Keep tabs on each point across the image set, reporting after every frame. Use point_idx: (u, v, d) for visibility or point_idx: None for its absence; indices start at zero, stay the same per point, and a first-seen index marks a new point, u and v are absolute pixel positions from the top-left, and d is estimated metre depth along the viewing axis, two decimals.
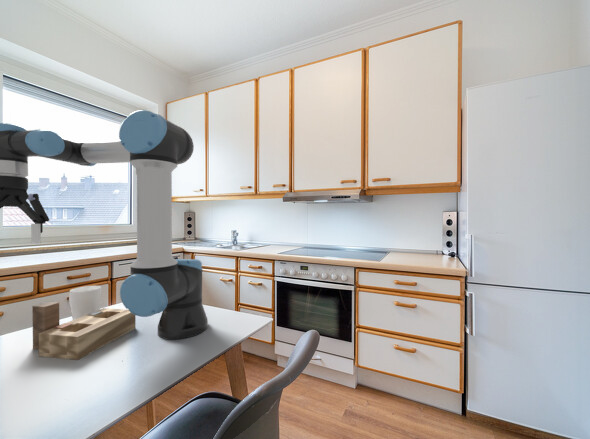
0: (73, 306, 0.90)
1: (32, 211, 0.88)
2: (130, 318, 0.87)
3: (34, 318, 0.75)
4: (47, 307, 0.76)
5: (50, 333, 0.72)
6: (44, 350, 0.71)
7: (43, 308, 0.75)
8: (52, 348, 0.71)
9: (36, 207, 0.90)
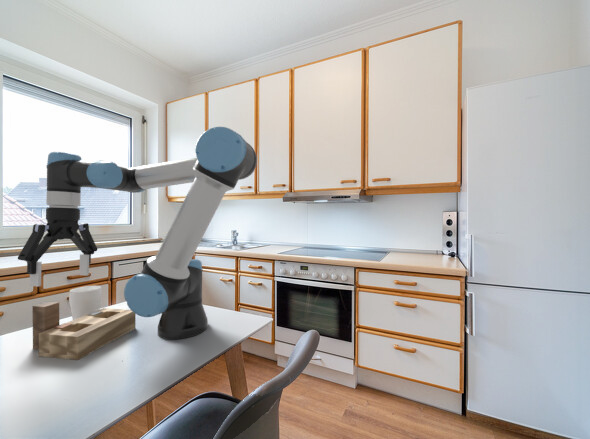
0: (73, 306, 0.90)
1: (82, 242, 0.83)
2: (130, 318, 0.87)
3: (34, 318, 0.75)
4: (47, 307, 0.76)
5: (50, 333, 0.72)
6: (44, 350, 0.71)
7: (43, 308, 0.75)
8: (52, 348, 0.71)
9: (85, 237, 0.85)
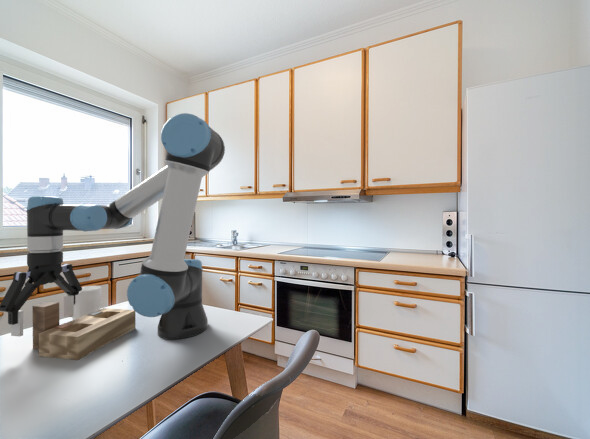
0: None
1: (66, 284, 0.82)
2: (130, 318, 0.87)
3: (34, 318, 0.75)
4: (47, 307, 0.76)
5: (50, 333, 0.72)
6: (44, 350, 0.71)
7: (43, 308, 0.75)
8: (52, 348, 0.71)
9: (69, 278, 0.84)
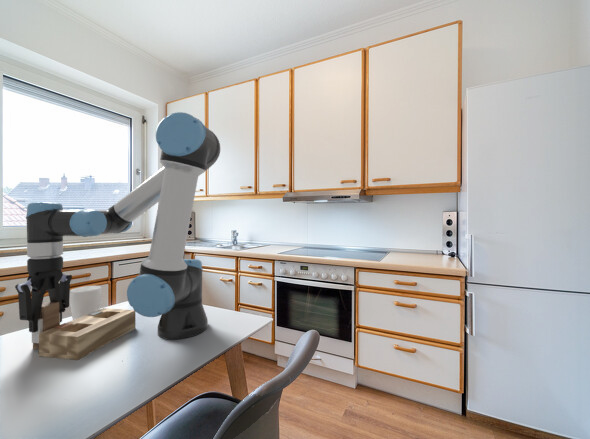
0: (73, 306, 0.90)
1: (58, 296, 0.79)
2: (130, 318, 0.87)
3: None
4: (47, 307, 0.76)
5: (50, 333, 0.72)
6: (44, 350, 0.71)
7: (43, 308, 0.75)
8: (52, 348, 0.71)
9: (62, 290, 0.82)
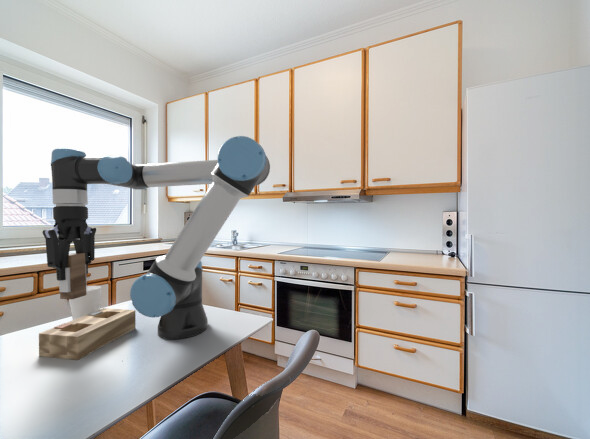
0: (73, 306, 0.90)
1: (84, 247, 0.78)
2: (130, 318, 0.87)
3: None
4: (74, 256, 0.74)
5: (50, 333, 0.72)
6: (44, 350, 0.71)
7: (70, 256, 0.73)
8: (52, 348, 0.71)
9: (87, 242, 0.80)
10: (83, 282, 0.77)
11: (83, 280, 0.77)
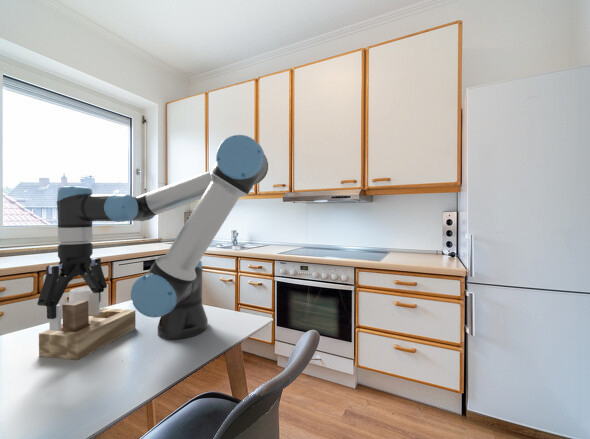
0: None
1: (93, 279, 0.79)
2: (130, 318, 0.87)
3: (64, 316, 0.74)
4: (77, 305, 0.74)
5: (50, 333, 0.72)
6: (44, 350, 0.71)
7: (73, 306, 0.73)
8: (52, 348, 0.71)
9: (96, 273, 0.82)
10: None
11: None
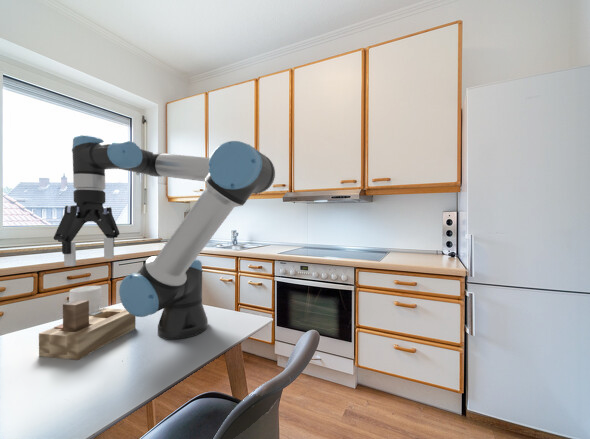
0: None
1: (107, 225, 0.85)
2: (130, 318, 0.87)
3: (65, 316, 0.74)
4: (78, 305, 0.74)
5: (50, 333, 0.72)
6: (44, 350, 0.71)
7: (74, 306, 0.73)
8: (52, 348, 0.71)
9: (108, 221, 0.87)
10: None
11: None
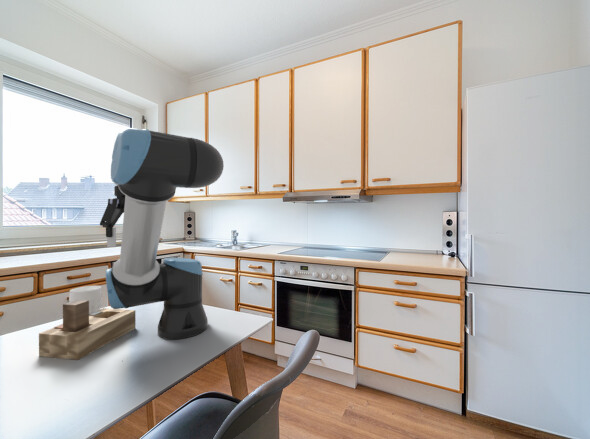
0: None
1: None
2: (130, 318, 0.87)
3: (65, 316, 0.74)
4: (78, 305, 0.74)
5: (50, 333, 0.72)
6: (44, 350, 0.71)
7: (74, 306, 0.73)
8: (52, 348, 0.71)
9: None
10: None
11: None
